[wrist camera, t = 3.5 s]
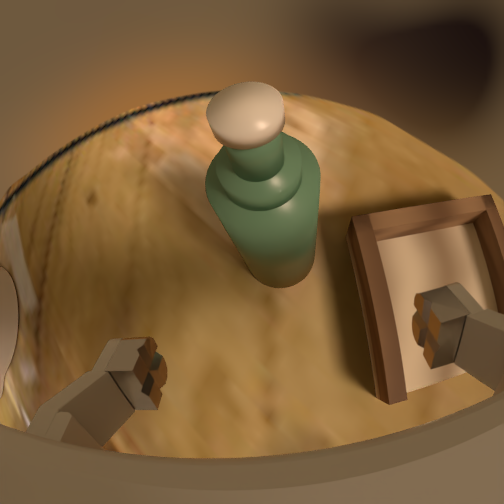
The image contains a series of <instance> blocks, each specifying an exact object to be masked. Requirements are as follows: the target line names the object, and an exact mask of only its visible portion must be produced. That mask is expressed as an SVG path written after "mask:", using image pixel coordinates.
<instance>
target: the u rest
mask: <svg viewBox="0 0 504 504" xmlns="http://www.w3.org/2000/svg"><path fill="white" fill-rule="evenodd" d="M346 240H347V244H348V248H349V252H350V257H351V261H352V265H353V270H354V274H355V279H356V283H357V288H358V292H359V297H360V302H361V307H362V312H363V317H364V323H365V328H366V334H367V340H368V345H369V351H370V358H371V364H372V371H373V378H374V385H375V392H376V398H378V399H379V400H381V401H383V402H385V403H387V404H389V405H391V404H394V403H398V402H401V401H405V400H407V392H410V391H414V390H417V389H420V388H423V387H426V386H429V385H432V384H435V383H438V382H441V381H444V380H447V379H450V378H452V377H455V376H458V375H460V374H463V373H466V371H464V370H463V369H461V368H460V367H458V366H457V365H455V364H454V363H451V364H448V365H444V366H441V367H438V368H434V369H430V367H429V365H428V364H427V362H426V360H425V358H424V356H423V351H424V348H422V347H420V346H418V345H417V343H416V341H415V339H414V336H413V332H412V316H413V315H414V314H415V312H416V311H417V309H416V308H415V306H414V297H415V295H416V293H420V292H424V291H428V290H432V289H435V288H439V287H443V286H445V285H448V284H451V283H455V282H458V283H460V284H461V285H462V286H463V287H464V288H465V289H466V290H467V291H468V292H469V293H470V294H471V296H472V297H473V298H474V299H475V300H476V301H477V302H478V303H479V305H480V306H481V307H482V308H483V309H484V310H485V309H490V310H493V311H495V312H498V313H501V314H503V315H504V226H503V224H502V221H501V218H500V216H499V213H498V210H497V208H496V205H495V203H494V201H493V198H492V196H491V194H490V195H483V196H476V197H470V198H463V199H457V200H450V201H444V202H437V203H431V204H425V205H419V206H412V207H406V208H400V209H394V210H388V211H382V212H376V213H370V214H364V215H358V216H352V218H351V221H350V225H349V228H348V231H347V235H346Z"/></svg>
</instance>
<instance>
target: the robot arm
mask: <svg viewBox="0 0 504 504" xmlns="http://www.w3.org/2000/svg"><path fill="white" fill-rule="evenodd" d="M414 306H415V308H416V309H417V311H416V312H415V314H414V315H413V316H412V332H413V336H414V339H415V341H416V343H417V345H418V346H420V347H422V348H424V351H423V356H424V358H425V360H426V362H427V364H428V365H429V367H430V369H434V368H438V367H441V366H444V365H448V364H451V363H454V364H455V365H457V366H458V367H460V368H461V369H463V370H464V371H466V372H467V373H469V374H470V375H472V376H473V377H475V378H476V379H478V380H479V381H481V382H482V383H484V384H485V385H487V386H488V387H490V388H491V389H493V390H494V391H495V392H494V394H493V396H492V397H490V398H488V399H486V400H484V401H482V402H479V403H477V404H475V405H472V406H470V407H468V408H465V409H463V410H460V411H458V412H455V413H453V414H450V415H448V416H445V417H442V418H440V419H437V420H434V421H431V422H428V423H425V424H422V425H419V426H416V427H413V428H410V429H406V430H403V431H400V432H396V433H393V434H389V435H385V436H382V437H378V438H374V439H370V440H365V441H361V442H357V443H352V444H347V445H342V446H337V447H332V448H326V449H320V450H314V451H307V452H300V453H292V454H283V455H273V456H261V457H245V458H173V457H157V456H146V455H136V454H127V453H119V452H112V451H106V450H104V449H103V448H102V446H103V445H104V444H105V443H106V442H107V441H108V440H109V439H110V438H111V437H112V436H113V435H114V433H115V432H116V431H117V430H118V429H119V428H120V427H121V426H122V425H123V424H124V423H125V422H126V420H127V419H128V418H129V417H130V416H131V415H132V414H133V413H134V412H135V410H158V407H159V404H160V400H161V397H162V392H161V391H160V388H161V387H162V386H164V385H165V384H166V380H167V366H166V362H165V360H164V358H163V356H162V355H160V354H159V353H157V352H156V349H157V344H156V342H155V340H154V339H153V338H152V337H133V338H116V339H111V340H109V341H108V342H107V344H106V346H105V348H104V349H103V351H102V353H101V355H100V356H99V358H98V360H97V362H96V364H95V366H94V367H93V369H92V371H88V372H86V373H85V374H84V375H82V376H81V377H79V378H78V379H77V380H75V381H74V382H73V383H71V384H70V385H69V386H67V387H66V388H64V389H63V390H62V391H60V392H59V393H58V394H56V395H55V396H54V397H52V398H51V399H49V400H48V401H47V402H45V403H44V404H43V405H41V406H40V407H39V409H38V411H37V412H36V414H35V416H34V418H33V420H32V422H31V423H30V425H29V427H28V429H27V431H26V432H23V431H20V430H17V429H14V428H11V427H8V426H5V425H2V424H0V504H504V315H503V314H501V313H498V312H495V311H493V310H490V309H485V310H484V309H483V308H482V307H481V306H480V305H479V303H478V302H477V301H476V300H475V299H474V298H473V297H472V296H471V294H470V293H469V292H468V291H467V290H466V289H465V288H464V287H463V286H462V285H461V284H460V283H458V282H455V283H451V284H448V285H445V286H443V287H439V288H435V289H432V290H428V291H424V292H420V293H416V295H415V297H414ZM17 331H18V302H17V295H16V290H15V286H14V283H13V280H12V278H11V276H10V274H9V273H8V272H7V271H6V270H5V269H4V268H3V267H1V266H0V398H1V396H2V392H3V385H4V377H5V373H6V371H7V369H8V367H9V365H10V362H11V360H12V357H13V353H14V350H15V345H16V339H17Z"/></svg>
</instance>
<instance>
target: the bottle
mask: <svg viewBox="0 0 504 504" xmlns="http://www.w3.org/2000/svg"><path fill="white" fill-rule="evenodd" d="M206 116H207V120H208V122H209V125H210V127H211V129H212V132H213V134H214V136H215V138H216V139H217V140H218V141H219V142H220V143H221V144H223V147H222V148H221V150H220V151H219V153H218V154H217V155H216V156H215V157H214V159H213V160H212V162H211V164H210V166H209V168H208V171H207V175H206V181H205V187H206V194H207V197H208V200H209V202H210V204H211V206H212V207H213V209H214V211H215V212H216V214H217V216H218V217H219V219H220V221H221V222H222V224H223V226H224V228H225V229H226V231H227V233H228V234H229V236H230V238H231V239H232V241H233V243H234V244H235V246H236V248H237V249H238V251H239V253H240V254H241V256H242V258H243V259H244V261H245V263H246V264H247V266H248V268H249V269H250V271H251V273H252V274H253V276H254V277H255V278H256V279H257V280H258V281H260V282H261V283H263V284H265V285H267V286H270V287H274V288H286V287H290V286H293V285H295V284H297V283H299V282H300V281H302V280H303V279H304V278H305V277H306V276H307V275H308V273H309V272H310V270H311V268H312V266H313V263H314V257H315V246H316V234H317V222H318V209H319V194H320V168H319V165H318V162H317V160H316V158H315V156H314V154H313V153H312V151H311V150H310V149H309V148H308V147H307V146H306V145H305V144H303V143H302V142H301V141H299V140H297V139H296V138H294V137H291V136H289V135H287V134H285V133H283V132H281V131H282V130H283V127H284V125H285V113H284V104H283V98H282V96H281V94H280V93H279V92H278V91H277V90H276V89H275V88H273V87H272V86H270V85H267V84H265V83H260V82H243V83H238V84H234V85H232V86H229V87H227V88H225V89H223V90H221V91H220V92H219V93H217V94H216V95H215V96H214V97H213V98H212V99H211V101H210V102H209V104H208V107H207V111H206Z"/></svg>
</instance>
